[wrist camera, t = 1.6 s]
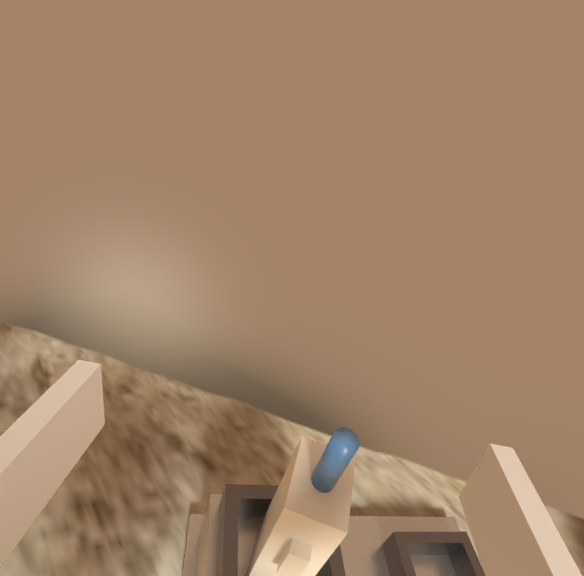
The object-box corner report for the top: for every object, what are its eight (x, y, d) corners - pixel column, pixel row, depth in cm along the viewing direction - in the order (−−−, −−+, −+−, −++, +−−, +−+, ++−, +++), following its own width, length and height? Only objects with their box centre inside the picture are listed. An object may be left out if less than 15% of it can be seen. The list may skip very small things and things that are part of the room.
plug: (237, 605, 25) (302, 482, 17) (260, 524, 30) (321, 395, 21) (285, 625, 25) (376, 511, 16) (301, 541, 29) (380, 417, 21)
